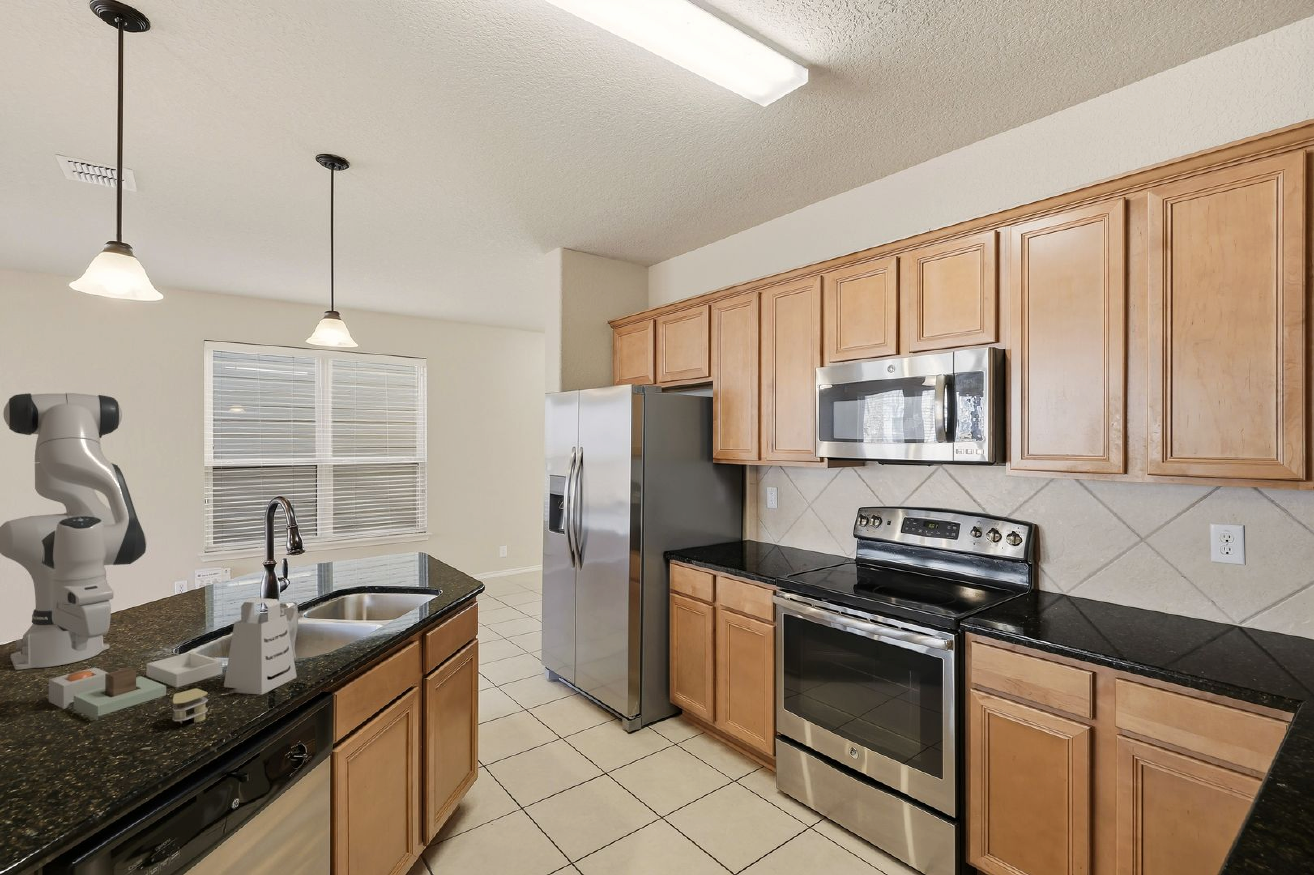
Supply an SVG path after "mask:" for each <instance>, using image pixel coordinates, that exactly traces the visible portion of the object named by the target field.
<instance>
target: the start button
mask: <svg viewBox="0 0 1314 875" xmlns="http://www.w3.org/2000/svg"><path fill="white" fill-rule="evenodd" d="M69 674H70V675H68V681H70V682H72V681H76V680H79V679H83V678H87V677H91V676H92V671H83V670H80V672H79V671H76V673H75V672H72V674H71V673H69Z"/></svg>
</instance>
